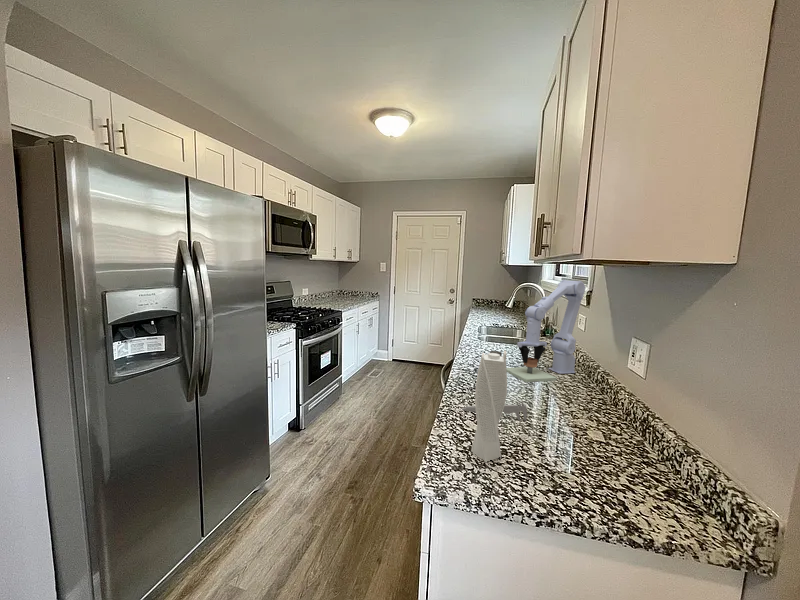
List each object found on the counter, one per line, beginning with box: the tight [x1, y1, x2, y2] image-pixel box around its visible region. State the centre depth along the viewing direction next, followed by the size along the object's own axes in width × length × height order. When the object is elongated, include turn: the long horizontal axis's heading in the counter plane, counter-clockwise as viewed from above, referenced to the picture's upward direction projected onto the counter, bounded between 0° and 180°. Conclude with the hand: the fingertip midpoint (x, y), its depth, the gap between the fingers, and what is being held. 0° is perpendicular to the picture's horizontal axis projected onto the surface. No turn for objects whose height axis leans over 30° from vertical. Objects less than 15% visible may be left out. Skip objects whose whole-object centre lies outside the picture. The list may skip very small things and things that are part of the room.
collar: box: [523, 356, 539, 368], centre depth 152 cm, size 6×6×3 cm
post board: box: [506, 366, 558, 383], centre depth 153 cm, size 16×16×6 cm
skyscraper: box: [470, 350, 508, 463], centre depth 84 cm, size 8×8×28 cm
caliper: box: [461, 401, 528, 422], centre depth 109 cm, size 20×1×6 cm, turn 72°
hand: (530, 362), depth 152 cm, fingers closed on collar, 6 cm apart
